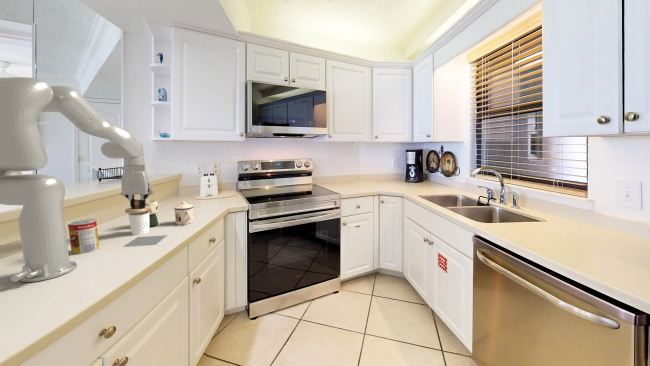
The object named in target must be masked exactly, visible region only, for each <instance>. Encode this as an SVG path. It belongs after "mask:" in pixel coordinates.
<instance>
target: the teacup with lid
mask: <svg viewBox="0 0 650 366" xmlns="http://www.w3.org/2000/svg"><path fill="white" fill-rule="evenodd" d="M173 210H174V217H175V224H176V225H180V226H184V225H190V224H192V223H194V221H195V219H194V206H193V205H192V204H188V203H186V201H181V203H179V204H177V205H176V206H174V208H173Z"/></svg>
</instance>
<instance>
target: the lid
mask: <svg viewBox="0 0 650 366" xmlns="http://www.w3.org/2000/svg"><path fill="white" fill-rule="evenodd" d="M140 200H141V199H135V200H134V208H135V209H131V207H129V208H126V209H125V210H124V212H125V214H133V213H143V212H148V211H151V210H152V207H150V206H145V208H143V209H140Z"/></svg>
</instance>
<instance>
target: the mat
mask: <svg viewBox="0 0 650 366" xmlns="http://www.w3.org/2000/svg"><path fill="white" fill-rule="evenodd" d="M166 237H168V234H166V235H153V236H152V235H149V236H138V237H136V238H134V239H132V240H131V241H129V242H128V243H126V244H125V245H123V246H122V248H124V247H125V248H126V247H127V248H128V247H141V246H143V247H144V246H157V245H158V244H159V243H160V242H161V241H162V240H164V239H165V238H166Z"/></svg>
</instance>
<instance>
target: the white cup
mask: <svg viewBox="0 0 650 366" xmlns="http://www.w3.org/2000/svg"><path fill="white" fill-rule="evenodd" d="M127 214H128V221H129V226H130V230H131V235H133V236H138V235H139V236H140V235H145V234H148V233H150V227H151V226H150V223H149V221H150V220H149V212H143V213H133V214H129V213H127Z"/></svg>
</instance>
